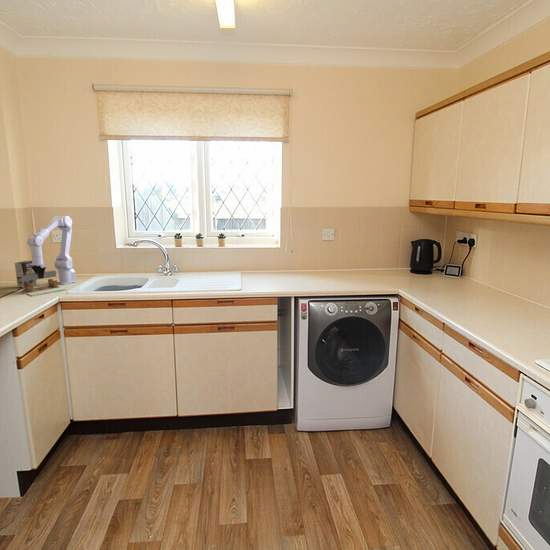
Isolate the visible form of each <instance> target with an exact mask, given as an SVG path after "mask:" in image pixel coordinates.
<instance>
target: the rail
mask: <svg viewBox="0 0 550 550" xmlns="http://www.w3.org/2000/svg"><path fill="white" fill-rule="evenodd" d="M56 277H57V271H56V270H54V269H53V270H45V271H44V277H43V278H41V279H39V276H38V273H32V274H26V275H22V279H23V281H31V280H36V281H37V280H43V279H51V278H56Z"/></svg>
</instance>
